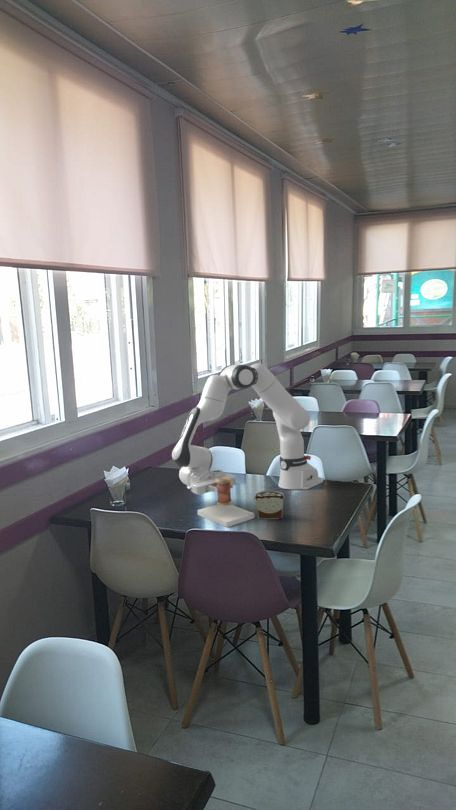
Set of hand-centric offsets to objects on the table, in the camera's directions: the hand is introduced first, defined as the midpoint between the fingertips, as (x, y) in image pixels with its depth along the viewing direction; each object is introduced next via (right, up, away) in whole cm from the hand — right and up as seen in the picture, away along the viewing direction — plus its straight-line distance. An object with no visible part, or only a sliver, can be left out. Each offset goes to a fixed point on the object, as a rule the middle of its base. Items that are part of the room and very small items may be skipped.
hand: (225, 488), depth 229 cm
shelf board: (0, -12, +3) cm, 12 cm away
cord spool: (0, -6, +2) cm, 7 cm away
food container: (+18, -12, 0) cm, 22 cm away
